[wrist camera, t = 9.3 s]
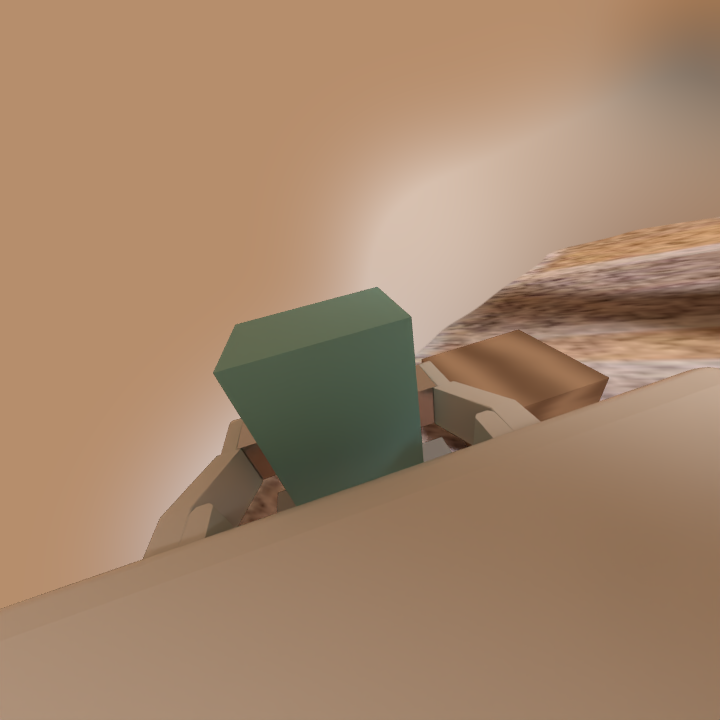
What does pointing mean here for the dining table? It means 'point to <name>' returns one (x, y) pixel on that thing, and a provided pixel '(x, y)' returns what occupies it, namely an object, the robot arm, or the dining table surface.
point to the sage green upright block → (328, 392)
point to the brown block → (523, 373)
